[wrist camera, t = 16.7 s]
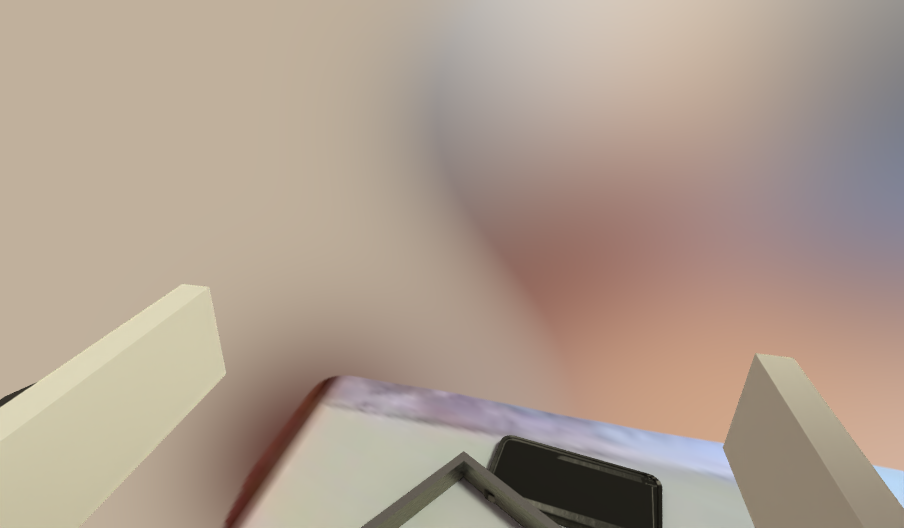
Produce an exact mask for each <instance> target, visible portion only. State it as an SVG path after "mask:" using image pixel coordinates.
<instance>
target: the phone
mask: <svg viewBox="0 0 904 528" xmlns="http://www.w3.org/2000/svg"><path fill="white" fill-rule="evenodd" d="M489 471H490V472H491V473H492V474H494V475H495V476H496V477H497V478H499V479H500V480H501V481H503V482H504V483H505V484H506V485H508V486H509V487H510V488H512V489H513V490H514V491H515V492H517V493H518V494H519V495H521V496H522V497H523V498H524V499H526V500H527V501H528V502H530V503H531V504H532V505H533V506H535V507H536V508H537V509H538V510H540V511H541V512H542V513H544V514H545V515H546V516H547V517H549V518H550V519H551V520H553V521H554V522H555V523H556V524H559V525H562V526H565V527H568V528H662V485H661V483H660V481H659V480H658V479H657V478H656V477H654V476H653V475H650V474H647V473H644V472H640V471H637V470H633V469H630V468H626V467H623V466H619V465H615V464H612V463H608V462H605V461H601V460H598V459H594V458H591V457H587V456H584V455H580V454H577V453H573V452H570V451H566V450H563V449H559V448H556V447H552V446H548V445H545V444H541V443H538V442H534V441H531V440H527V439H524V438H520V437H517V436H512V435H509V436H505V437H503V438H502V439H501V441H500V444H499V446H498V449H497V451H496V454H495V456H494V459H493V462H492V464H491V467H490V469H489ZM484 496H485V498H486V499H487V500H489V501H490V502H492V503H495V497H494V496H493V495H492V494H491V493H489V492H488V491H487V490H486V489H484Z"/></svg>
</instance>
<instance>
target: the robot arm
mask: <svg viewBox="0 0 904 528" xmlns="http://www.w3.org/2000/svg"><path fill="white" fill-rule="evenodd" d="M225 375H226V370H225V365H224V360H223V355H222V350H221V345H220V340H219V335H218V330H217V325H216V320H215V315H214V310H213V305H212V299H211V295H210V289H209V287H204V286H195V285H187V284H182V285H180V286H179V287H177V288H176V289H174V290H173V291H171V292H170V293H168V294H167V295H165V296H164V297H162V298H161V299H159V300H158V301H157V302H155V303H154V304H152V305H151V306H149V307H148V308H146V309H145V310H143V311H142V312H140V313H139V314H137V315H136V316H134V317H133V318H132V319H130V320H129V321H127V322H125V323H124V324H123V325H121V326H120V327H118V328H117V329H115V330H114V331H112V332H111V333H109V334H108V335H106V336H105V337H103V338H102V339H101V340H99V341H98V342H96V343H95V344H93V345H92V346H90V347H89V348H87V349H86V350H84V351H83V352H81V353H80V354H79V355H77V356H75V357H74V358H72V359H71V360H69V361H68V362H66V363H65V364H64V365H62V366H61V367H59V368H58V369H56V370H55V371H53V372H52V373H50V374H49V375H47V376H46V377H44V378H43V379H41V380H40V381H38V382H36V383H34V384H32V385H30V386H28V387H25V388H23V389H21V390H19V391H16V392H14V393H12V394H10V395H7V396H5V397H4V398H2V399H1V400H0V528H79V527H80V526H81V525H82V524H83V523H84V522H85V521H86V519H88V518H89V517H90V515H91V514H92V513H93V512H94V511H95V510H96V509H97V508H98V507H99V506H100V505H101V504H102V503H103V502H104V501H105V500H106V499H107V498H108V497H109V496H110V495H111V494H112V492H114V490H115V489H116V488H117V487H118V486H119V485H120V484H121V483H122V482H123V481H124V480H125V479H126V478H127V477H128V476H129V475H130V473H132V472H133V471H134V469H136V467H137V466H138V465H139V464H140V463H141V462H142V461H143V460H144V459H145V458H146V457H147V456H148V455H149V454H150V453H151V452H152V451H153V450H154V449H155V448H156V447H157V445H159V443H160V442H161V441H162V440H163V439H164V438H165V437H166V436H167V435H168V434H169V433H170V432H171V431H172V430H173V429H174V428H175V427H176V426H177V425H178V424H179V423H180V422H181V421H182V419H183V418H184V417H185V416H186V415H187V414H188V413H189V412H190V411H191V410H192V409H193V408H194V407H195V406H196V405H197V404H198V403H199V402H200V401H201V400H202V399H203V397H205V396H206V394H207V393H208V392H209V391H210V390H211V389H212V388H213V387H214V386H215V385H216V384H217V383H218V382H219V381H220V380H221V379H222V378H223V377H224V376H225ZM723 449H724V452H725V454H726V457H727V459H728V462H729V464H730V467H731V469H732V472H733V474H734V477H735V479H736V482H737V484H738V487H739V489H740V492H741V494H742V497H743V499H744V501H745V504H746V506H747V509H748V511H749V514H750V516H751V519H752V521H753V524H754V526H755V528H904V508H903V507H902V506H901V504H900V503H899V502H898V500H897V499H896V498H895V496H894V495H893V493H892V492H891V491H890V489H889V488H888V487H887V485H886V484H885V482H884V481H883V480H882V478H881V477H880V476H879V474H878V473H877V472H876V470H875V469H874V467H873V466H872V465H871V463H870V462H869V461H868V459H867V458H866V456H865V455H864V454H863V452H862V451H861V450H860V448H859V447H858V446H857V444H856V443H855V441H854V440H853V439H852V437H851V436H850V435H849V433H848V432H847V431H846V429H845V428H844V427H843V425H842V424H841V422H840V421H839V420H838V418H837V417H836V415H835V414H834V413H833V411H832V410H831V409H830V407H829V406H828V405H827V403H826V402H825V401H824V399H823V398H822V396H821V395H820V394H819V392H818V391H817V390H816V388H815V387H814V385H813V384H812V383H811V381H810V380H809V379H808V377H807V376H806V374H805V373H804V372H803V371H802V369H801V368H800V366H799V365H798V363H797V362H796V361H795V360H794V358H790V357H782V356H773V355H765V354H757V353H755V356H754V359H753V362H752V364H751V367H750V370H749V373H748V376H747V379H746V382H745V385H744V388H743V391H742V394H741V397H740V399H739V402H738V406H737V408H736V411H735V414H734V417H733V420H732V423H731V426H730V429H729V432H728V435H727V438H726V440H725V443H724V446H723Z"/></svg>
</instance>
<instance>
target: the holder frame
mask: <svg viewBox="0 0 904 528" xmlns="http://www.w3.org/2000/svg"><path fill="white" fill-rule="evenodd" d="M462 477H464V478H465V479H466V480H468V481H469V482H470V483H471V484H472V485H474V486H475V487H476V488H477V489H478V490H480V491H481V492H482V493H483V494H484V489H486V490H487V491H488V492H489V493H491V494H492V495H493V496H494V497H495V504H497V505H498V506H499V507H500V508H501V509H503V510H504V511H505V512H506V513H508V514H509V515H510V516H511V517H512V518H514V519H515V520H516V521H517V522H518V523H520V524H521V525H522V526H523V527H525V528H562V527H560V526H559V525H558V524H556V523H555V522H554V521H553V520H551V519H550V518H549V517H547V516H546V515H545V514H544V513H542V512H541V511H540V510H538V509H537V508H536V507H535V506H533V505H532V504H531V503H530V502H528V501H527V500H526V499H524V498H523V497H522V496H521V495H519V494H518V493H517V492H515V491H514V490H513V489H512V488H510V487H509V486H508V485H506V484H505V483H504V482H503V481H501V480H500V479H499V478H497V477H496V476H495V475H494V474H492V473H491V472H490V471H488V470H487V469H486V468H485V467H483V466H482V465H481V464H479V463H478V462H477V461H476V460H474V459H473V458H472V457H470V456H469V455H468V454H467V453H465V452H462V453H461V454H459V455H458V456H457V457H455V458H454V459H453V460H451V461H450V462H449V463H447V464H446V465H445V466H443V467H442V468H441V469H439V470H438V471H437V472H435V473H434V474H433V475H431V476H430V477H428V478H427V479H426V480H424V481H423V482H422V483H420V484H419V485H418V486H416V487H415V488H414V489H412V490H411V491H410V492H408V493H407V494H406V495H404V496H403V497H402V498H400V499H399V500H397V501H396V502H395V503H393V504H392V505H391V506H389V507H388V508H387V509H385V510H384V511H383V512H381V513H380V514H379V515H377V516H376V517H375V518H373V519H372V520H371V521H369V522H368V523H366V524H365V525H364V526H362V527H361V528H399V527H400V526H401V525H403V524H404V523H405V522H406V521H408V520H409V519H410V518H411V517H413V516H414V515H415V514H417V513H418V512H419V511H420V510H422V509H423V508H424V507H425V506H427V505H428V504H429V503H431V502H432V501H433V500H434V499H436V498H437V497H438V496H439V495H441V494H442V493H443V492H444V491H446V490H447V489H448V488H450V487H451V486H452V485H453V484H455V483H456V482H457V481H458V480H460V479H461V478H462Z"/></svg>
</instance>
